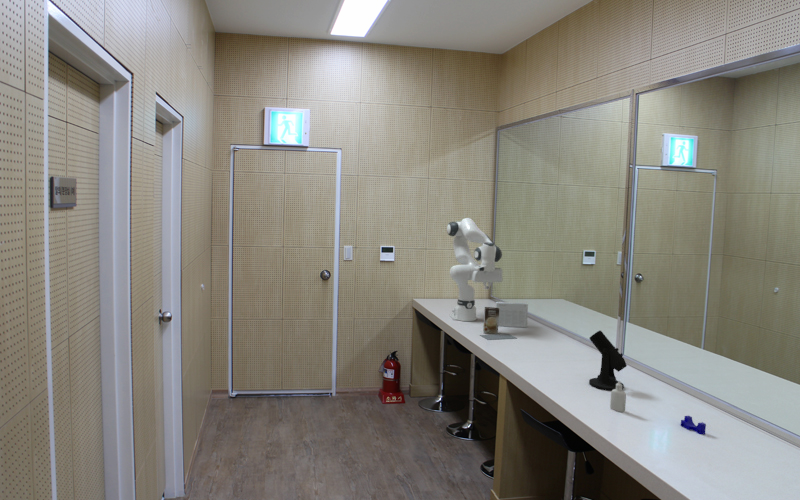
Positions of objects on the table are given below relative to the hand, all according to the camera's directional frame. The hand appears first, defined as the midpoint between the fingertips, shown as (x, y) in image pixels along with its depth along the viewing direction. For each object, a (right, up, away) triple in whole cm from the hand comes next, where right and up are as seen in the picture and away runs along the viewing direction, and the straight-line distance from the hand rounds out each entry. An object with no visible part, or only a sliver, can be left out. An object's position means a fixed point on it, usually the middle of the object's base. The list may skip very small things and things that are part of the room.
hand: (487, 289), depth 350 cm
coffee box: (+1, -28, -5) cm, 28 cm away
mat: (+5, -29, -16) cm, 33 cm away
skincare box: (+19, -27, +17) cm, 37 cm away
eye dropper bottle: (+32, -40, -131) cm, 141 cm away
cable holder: (+53, -42, -149) cm, 163 cm away
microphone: (+38, -37, -101) cm, 115 cm away
